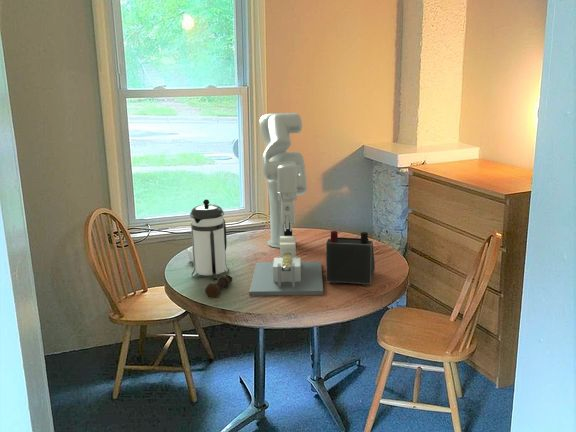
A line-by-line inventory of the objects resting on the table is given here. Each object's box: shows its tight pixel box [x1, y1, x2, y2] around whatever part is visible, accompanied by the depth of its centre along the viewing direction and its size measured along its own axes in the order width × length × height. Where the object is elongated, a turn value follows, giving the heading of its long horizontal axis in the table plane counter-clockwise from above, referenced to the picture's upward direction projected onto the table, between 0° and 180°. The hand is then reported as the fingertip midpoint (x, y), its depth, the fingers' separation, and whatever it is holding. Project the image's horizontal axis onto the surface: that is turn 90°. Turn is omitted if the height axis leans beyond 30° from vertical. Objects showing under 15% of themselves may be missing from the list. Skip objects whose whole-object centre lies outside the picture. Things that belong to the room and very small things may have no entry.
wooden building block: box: [282, 253, 291, 271], centre depth 216 cm, size 15×3×11 cm
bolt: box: [204, 274, 233, 299], centre depth 212 cm, size 6×5×15 cm
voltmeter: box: [325, 230, 376, 287], centre depth 218 cm, size 16×16×20 cm
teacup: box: [187, 246, 194, 263], centre depth 244 cm, size 10×8×5 cm
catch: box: [279, 235, 297, 258], centre depth 229 cm, size 6×6×11 cm
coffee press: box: [189, 199, 230, 281], centre depth 225 cm, size 17×16×30 cm
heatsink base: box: [248, 257, 324, 297], centre depth 220 cm, size 31×26×10 cm
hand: (288, 240), depth 236 cm, fingers closed
